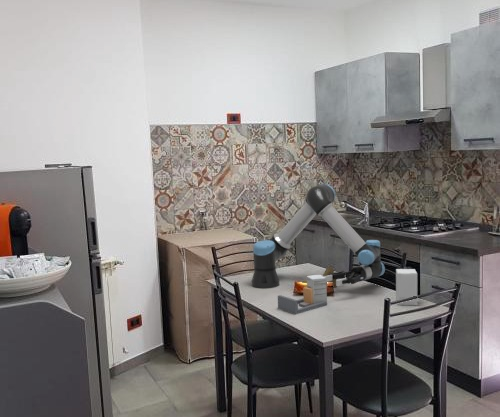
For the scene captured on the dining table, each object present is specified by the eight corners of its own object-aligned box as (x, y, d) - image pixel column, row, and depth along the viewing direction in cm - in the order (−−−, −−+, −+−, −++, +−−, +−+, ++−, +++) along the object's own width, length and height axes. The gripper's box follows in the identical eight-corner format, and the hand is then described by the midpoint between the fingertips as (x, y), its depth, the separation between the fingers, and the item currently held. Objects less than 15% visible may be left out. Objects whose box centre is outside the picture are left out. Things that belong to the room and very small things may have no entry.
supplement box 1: (306, 301, 248) (306, 275, 246) (321, 299, 250) (320, 274, 248) (312, 305, 241) (312, 279, 239) (327, 303, 243) (326, 277, 241)
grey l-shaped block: (278, 308, 239) (277, 295, 238) (308, 299, 250) (308, 287, 250) (295, 314, 229) (295, 301, 228) (326, 305, 241) (326, 292, 240)
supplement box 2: (417, 305, 235) (417, 273, 233) (397, 305, 236) (397, 273, 235) (415, 299, 243) (415, 268, 242) (395, 299, 245) (395, 268, 244)
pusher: (298, 305, 242) (297, 288, 241) (305, 303, 244) (305, 287, 243) (305, 308, 238) (305, 291, 237) (313, 305, 240) (312, 289, 239)
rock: (343, 283, 269) (338, 276, 279) (333, 271, 267) (329, 264, 277) (326, 296, 270) (323, 288, 280) (316, 284, 268) (313, 277, 278)
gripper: (377, 284, 255) (346, 293, 242) (345, 277, 272) (314, 285, 259) (377, 269, 254) (346, 277, 241) (344, 263, 271) (313, 270, 258)
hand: (329, 281), depth 250 cm, fingers open, 9 cm apart
